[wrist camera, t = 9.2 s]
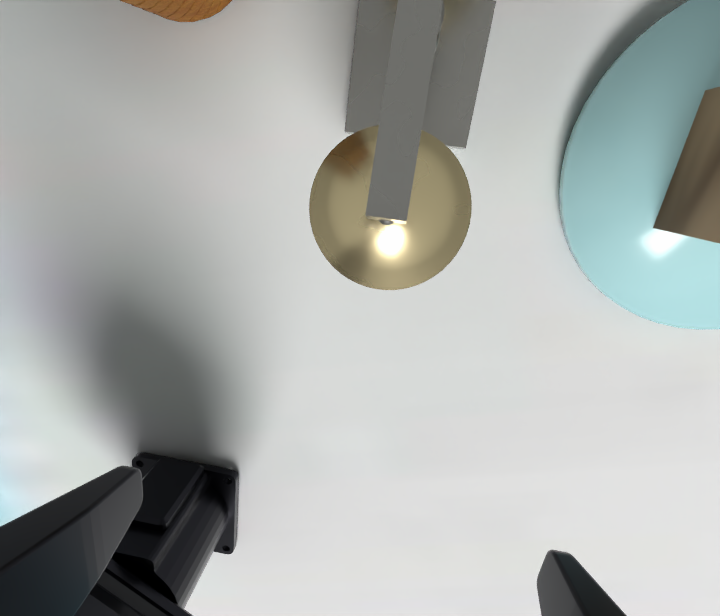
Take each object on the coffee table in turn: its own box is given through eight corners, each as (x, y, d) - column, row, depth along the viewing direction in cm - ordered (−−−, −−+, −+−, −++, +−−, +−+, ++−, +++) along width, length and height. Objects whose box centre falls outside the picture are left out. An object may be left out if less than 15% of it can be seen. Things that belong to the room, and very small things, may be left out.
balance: (442, 252, 18) (469, 319, 10) (336, 236, 19) (278, 288, 10) (523, -146, 14) (700, -634, 5) (379, -159, 14) (339, -637, 6)
